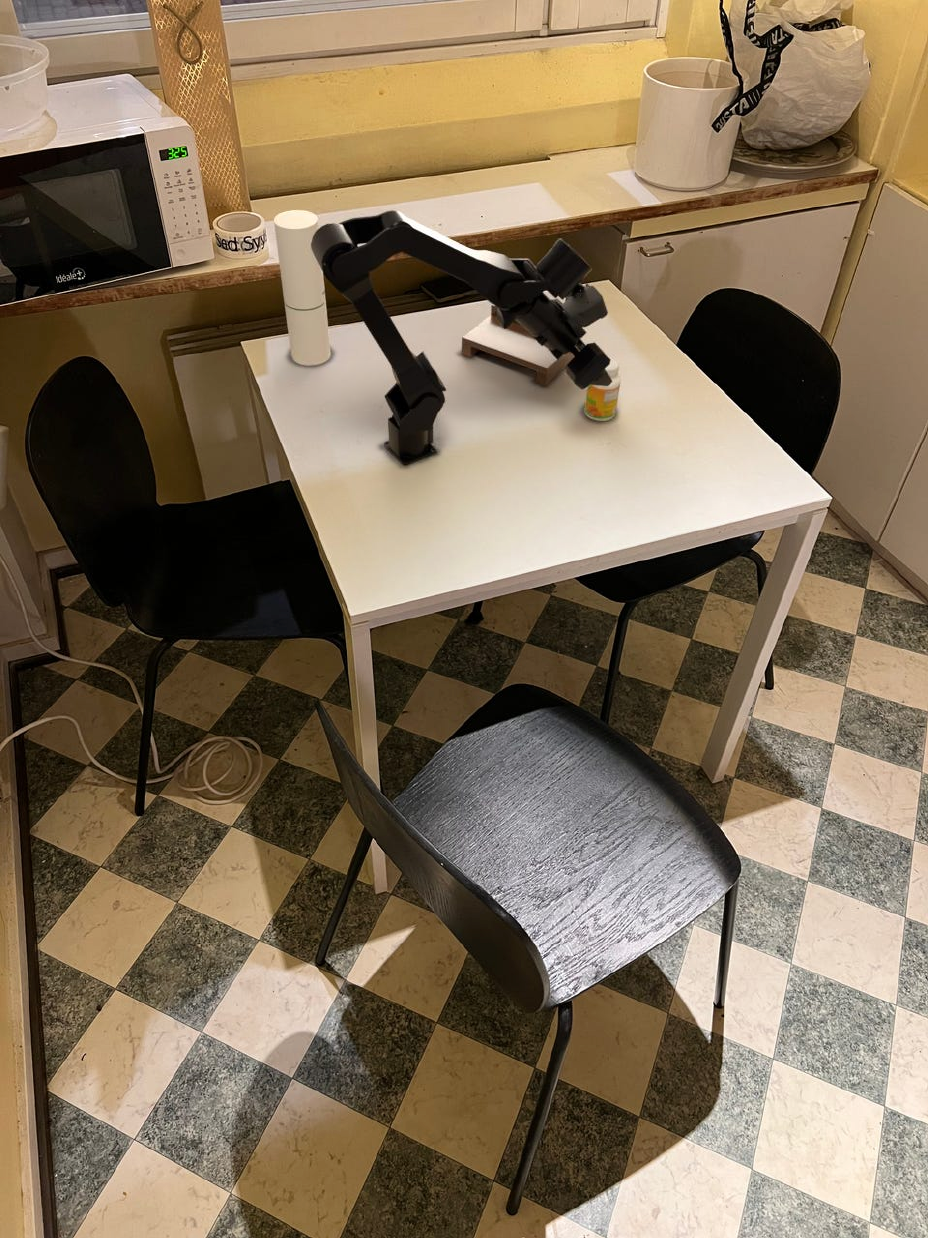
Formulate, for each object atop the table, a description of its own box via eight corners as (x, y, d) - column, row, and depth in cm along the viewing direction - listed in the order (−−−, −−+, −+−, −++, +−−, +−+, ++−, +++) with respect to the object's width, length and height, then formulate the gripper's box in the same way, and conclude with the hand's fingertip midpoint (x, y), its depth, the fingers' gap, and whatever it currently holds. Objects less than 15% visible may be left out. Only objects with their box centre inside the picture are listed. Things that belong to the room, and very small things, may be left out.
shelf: (545, 385, 163) (548, 358, 159) (461, 354, 169) (462, 327, 165) (574, 358, 169) (578, 331, 165) (492, 329, 176) (494, 302, 171)
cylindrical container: (334, 346, 170) (321, 211, 152) (326, 366, 165) (312, 230, 147) (296, 343, 170) (279, 208, 152) (287, 363, 166) (269, 227, 147)
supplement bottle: (578, 407, 158) (584, 358, 151) (604, 401, 160) (612, 351, 153) (593, 424, 155) (601, 374, 148) (620, 417, 157) (629, 367, 150)
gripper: (606, 306, 131) (661, 361, 142) (554, 249, 143) (608, 303, 154) (551, 364, 135) (608, 413, 146) (505, 303, 147) (561, 353, 157)
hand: (597, 368), depth 150 cm, fingers open, 9 cm apart
